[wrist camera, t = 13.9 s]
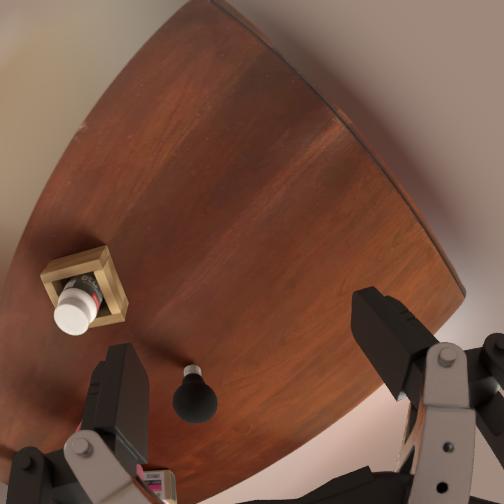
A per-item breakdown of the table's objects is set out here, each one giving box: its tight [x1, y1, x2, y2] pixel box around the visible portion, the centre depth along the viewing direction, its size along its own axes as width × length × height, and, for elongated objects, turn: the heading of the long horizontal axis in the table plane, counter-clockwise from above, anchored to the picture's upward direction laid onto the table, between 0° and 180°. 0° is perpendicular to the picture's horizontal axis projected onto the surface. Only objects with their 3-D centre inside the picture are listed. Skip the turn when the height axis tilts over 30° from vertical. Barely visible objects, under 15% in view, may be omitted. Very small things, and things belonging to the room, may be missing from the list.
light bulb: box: [173, 365, 218, 424], centre depth 39 cm, size 6×6×10 cm
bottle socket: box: [40, 245, 129, 328], centre depth 33 cm, size 8×8×4 cm
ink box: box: [143, 470, 177, 504], centre depth 52 cm, size 10×4×8 cm, turn 98°
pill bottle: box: [54, 271, 104, 335], centre depth 31 cm, size 5×5×8 cm
